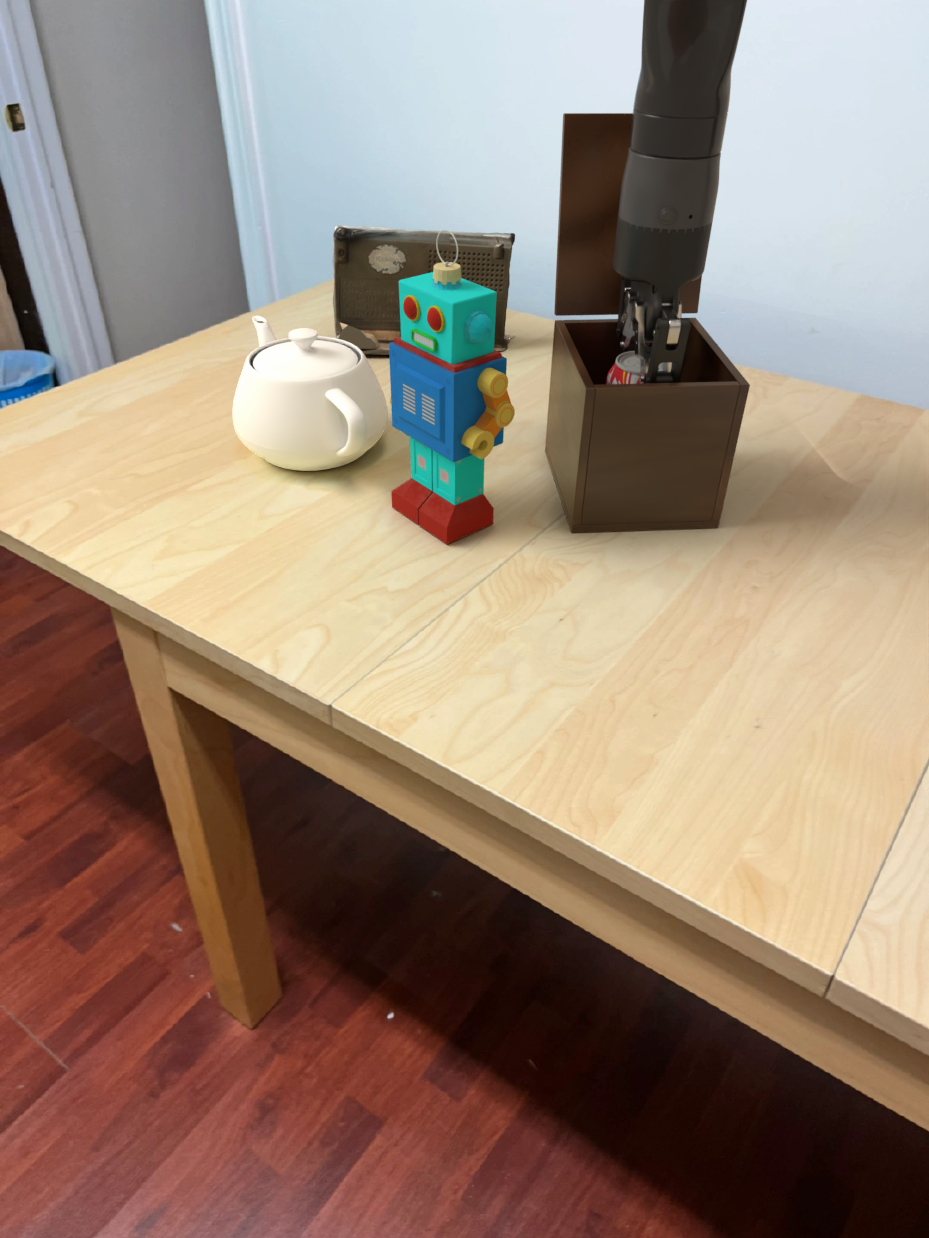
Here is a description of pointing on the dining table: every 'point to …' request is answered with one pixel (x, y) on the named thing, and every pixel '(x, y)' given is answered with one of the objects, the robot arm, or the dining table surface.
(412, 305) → the toy robot
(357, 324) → the radio
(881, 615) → the dining table surface
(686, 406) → the box
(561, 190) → the lid
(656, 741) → the dining table surface
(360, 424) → the teapot
